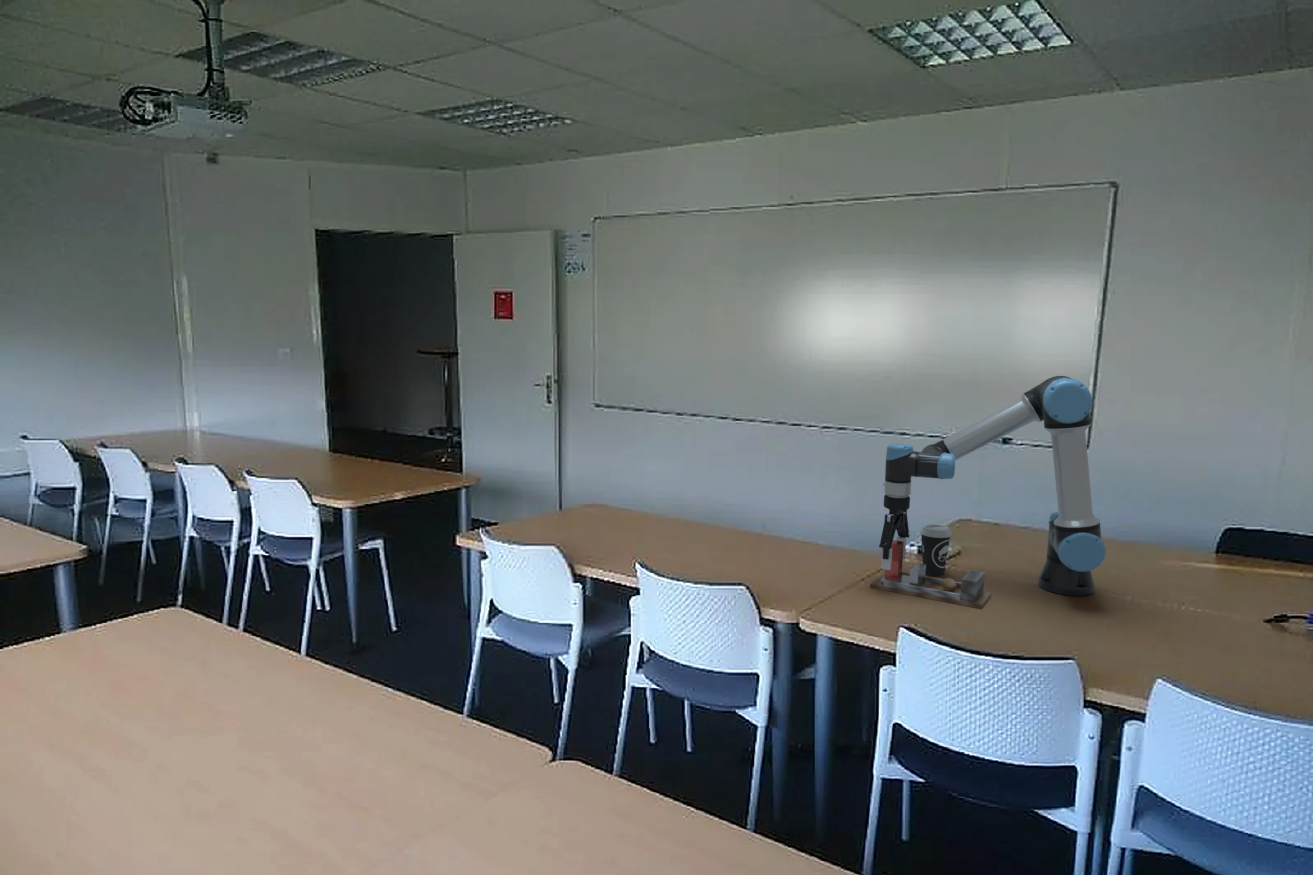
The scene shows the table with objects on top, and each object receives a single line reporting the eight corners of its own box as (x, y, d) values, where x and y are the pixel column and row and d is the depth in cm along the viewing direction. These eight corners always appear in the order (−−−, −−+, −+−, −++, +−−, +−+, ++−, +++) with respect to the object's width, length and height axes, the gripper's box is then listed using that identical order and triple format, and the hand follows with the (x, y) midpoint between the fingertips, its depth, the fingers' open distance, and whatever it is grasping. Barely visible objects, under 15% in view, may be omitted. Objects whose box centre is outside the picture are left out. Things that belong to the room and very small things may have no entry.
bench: (990, 596, 237) (992, 573, 236) (981, 609, 227) (982, 584, 226) (883, 576, 255) (884, 554, 254) (870, 587, 245) (871, 564, 244)
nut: (957, 591, 238) (958, 578, 238) (954, 594, 235) (954, 581, 234) (943, 588, 240) (944, 575, 240) (939, 592, 237) (940, 579, 236)
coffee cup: (945, 568, 263) (947, 523, 261) (952, 578, 253) (955, 531, 251) (915, 567, 264) (917, 523, 262) (921, 577, 254) (924, 530, 252)
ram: (925, 582, 245) (927, 543, 243) (917, 589, 239) (919, 549, 237) (889, 575, 251) (890, 537, 250) (880, 582, 245) (882, 543, 243)
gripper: (897, 486, 255) (894, 551, 258) (870, 501, 235) (867, 571, 238) (921, 489, 251) (917, 555, 254) (896, 504, 230) (892, 576, 234)
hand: (893, 563), depth 246 cm, fingers open, 13 cm apart
